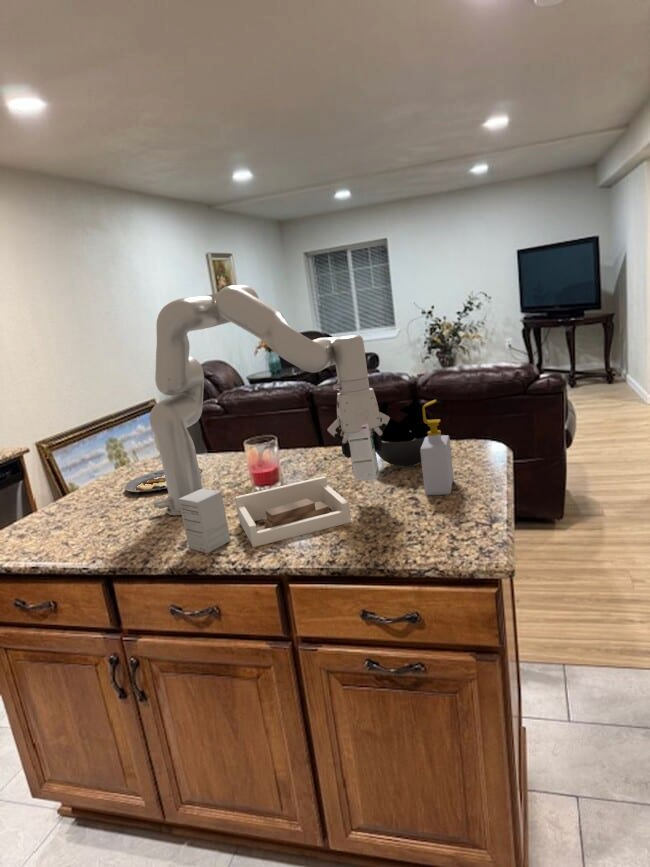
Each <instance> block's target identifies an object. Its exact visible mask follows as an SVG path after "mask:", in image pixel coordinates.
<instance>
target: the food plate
mask: <svg viewBox="0 0 650 867" xmlns="http://www.w3.org/2000/svg"><path fill="white" fill-rule="evenodd" d="M199 472H200V475H201V474H202V473H203V469H201V468H200V467H199ZM162 476H164V470H163V469H159V470H155V471H152V472H150V473H147V474H143V475H140V476H137V477H136V478H133V479H132V480H130V481H128V482H127V483H126V484H125V486H124V489H125V490H126V491H127V492H128V491H129V492H134V493H140V492H141V493H143V492H148V493H149V492H153V491H161V490H162V489H163V490H165V489H167V484H166V482H165V481H166V480H165V478H158V479H154V478H157V477H162ZM148 480H149V481H148ZM147 481H148V482H147ZM141 483H143V485H142V486H138V485H140V484H141ZM153 483H157V484H153ZM145 484H151V485H145ZM144 485H145V486H144ZM137 486H138V487H137ZM135 488H136V490H135Z"/></svg>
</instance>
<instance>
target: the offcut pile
mask: <svg viewBox="0 0 650 867" xmlns="http://www.w3.org/2000/svg"><path fill="white" fill-rule="evenodd" d="M328 513H332V511H330V509H329V506H327V505H326V504H324V503H322V502H320V501H319V502H316V503H314V502H312V501H311V500H309V499H307V498H306V499H303V500H300V501H296V502H293V503H289V504H286V505H283V506H279V507H276V508H272V509H269V510H266V516H267V517H266V518H264V519H263V520H264V525H262V526H259V527H256V528H257V531H259V530H263V529H267V528H271V527H275V526H279V525H283V524H287V523H291V522H295V521H299V520H303V519H308V518H312V517H316V516H320V515H324V514H328Z"/></svg>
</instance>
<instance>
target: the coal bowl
mask: <svg viewBox="0 0 650 867" xmlns="http://www.w3.org/2000/svg"><path fill="white" fill-rule="evenodd" d="M388 407H389V404H388V403H383V404H381V405H380V407H378V409H379V412H381V413H383V414H385V415H387V416H389V414H388V413H387V410H388ZM422 409H423V406H422V404H421V403H419V402H413V403H410V404H408V405H405V406H404V407H403V408H401V409H399V412H402V413H404V414H406V416H405V417H403V418H402V419H401V420H400V421H396V420H394V419H393V418H390V419H389V421H388V423H387V425H386V428H385V429H384V431H383V432H382V435H381V440H382V447H381V451H377V450H375V451H376V455H378V457H380V458H381V459H382V460H383V461H384V462H386V463H388V464H390V465H391V466H395V467H401V468H409V467H413V466H416V465H419V464H422V462H421V452H420V450H421V446H422V444H423V441H424V439H425V437H428V433H427V432H428V431H431V429H430V427H429V426H428V424H425V423H424V421H423V411H422ZM425 415H426V419H427V420H432V418H431V417H430V416H429V415H428V413H427V412H425ZM380 420H381V421H382V418H380ZM372 432H373V430H372ZM373 434H374V432H373Z"/></svg>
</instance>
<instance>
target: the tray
mask: <svg viewBox="0 0 650 867" xmlns="http://www.w3.org/2000/svg"><path fill="white" fill-rule="evenodd" d="M234 498H235V502H236V503H235V504H236V510H237V514H238V519H239V523H240V525H241V527H242V529H243V531H244V533H245V534H246V537H247V538H248V540H249V542H250V544H251V546H252V547H253V548H256V547H258V546H259V547H260V546H263V545H267V544H271V543H275V542H280V541H282V540H287V539H290V538H295V537H298V536H302V535H307V534H310V533H311V534H312V533H314V532H320V531H322V530H323V531H324V530H326V529H329V528H334V527H337V526H342V525H346V524H350V523H352V517H351V511H350V509H351V508H350V503H349V502H348V501H347V500H346V499H345V498H344V497H342V495H340V493H338V492H337V491H335V490H334V489H333V488H332V487H330V485H328V482H327V477H326V476H320V477H315V478H310V479H307V480H302V481H297V482H293V483H290V484H285V485H281V486H276V487H271V488H267V489H264V490H257V491H255V492H249V493H246V494H245V493H244V494H241V495H236V496H234ZM306 498H307V499H309V500H311V501H312V502H314V503H316V502H319V501H320V502H322V503H324V504H326V505H327V506H329V508H330V509H331V510H332V511H331V510H330V509H329V510H330V511H331V513H328V514H324V515H320V516H316V517H312V518H308V519H303V520H299V521H295V522H291V523H287V524H283V525H279V526H275V527H271V528H267V529H263V530H259V531H257V528H258V527H257V524H256V522H255V521H260V520H264V518H266V517H267V516H266V510H269V509H272V508H276V507H279V506H283V505H286V504H289V503H293V502H296V501H300V500H303V499H306Z"/></svg>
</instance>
